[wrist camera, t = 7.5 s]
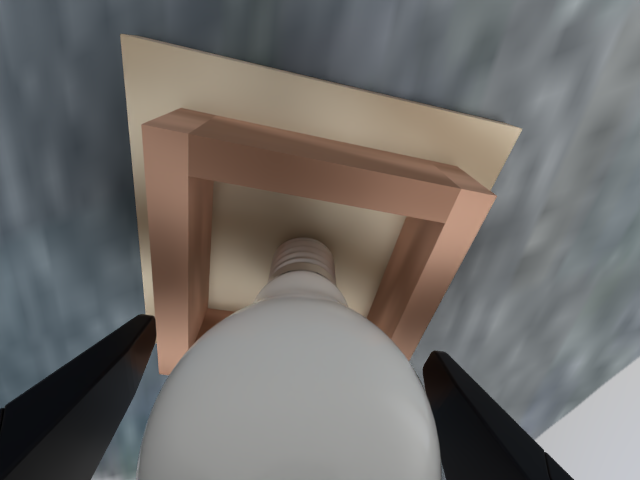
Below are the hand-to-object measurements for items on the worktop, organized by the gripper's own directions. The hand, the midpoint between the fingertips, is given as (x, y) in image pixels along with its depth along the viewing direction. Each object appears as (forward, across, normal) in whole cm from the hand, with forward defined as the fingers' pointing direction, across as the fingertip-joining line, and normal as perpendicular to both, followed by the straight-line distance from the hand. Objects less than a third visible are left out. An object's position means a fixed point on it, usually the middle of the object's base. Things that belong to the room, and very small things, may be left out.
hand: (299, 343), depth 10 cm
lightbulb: (+5, 0, 0) cm, 5 cm away
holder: (+6, 0, 0) cm, 6 cm away
